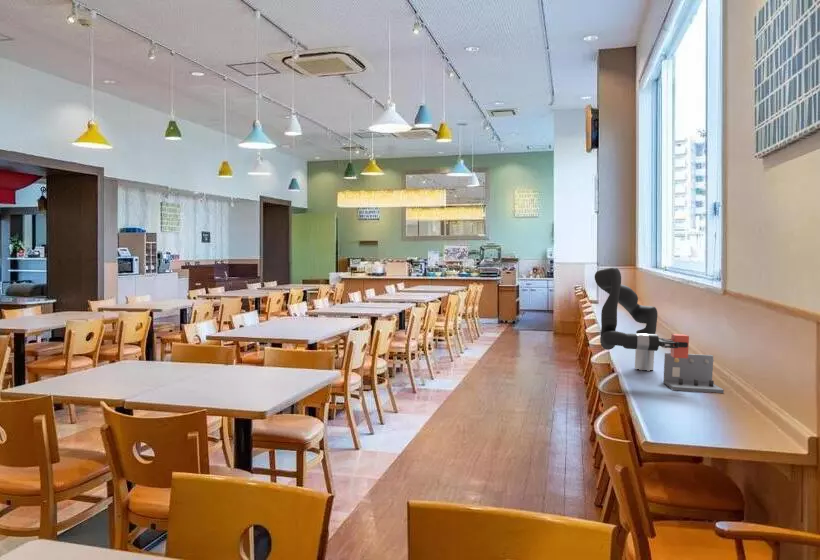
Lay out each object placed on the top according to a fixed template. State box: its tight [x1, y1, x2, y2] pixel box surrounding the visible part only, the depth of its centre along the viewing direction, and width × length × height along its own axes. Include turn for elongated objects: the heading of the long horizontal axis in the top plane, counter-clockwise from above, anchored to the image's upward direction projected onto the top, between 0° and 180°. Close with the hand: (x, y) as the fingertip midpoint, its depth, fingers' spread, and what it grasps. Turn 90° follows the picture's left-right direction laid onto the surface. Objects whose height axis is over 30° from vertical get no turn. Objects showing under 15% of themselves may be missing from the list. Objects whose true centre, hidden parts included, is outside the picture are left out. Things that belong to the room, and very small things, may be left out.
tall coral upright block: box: [670, 333, 690, 358], centre depth 283 cm, size 6×6×10 cm
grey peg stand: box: [663, 352, 725, 394], centre depth 284 cm, size 17×21×14 cm
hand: (685, 344), depth 283 cm, fingers closed on tall coral upright block, 6 cm apart
